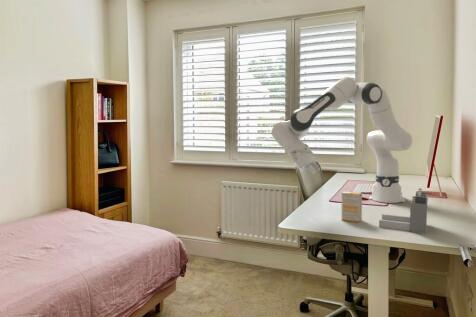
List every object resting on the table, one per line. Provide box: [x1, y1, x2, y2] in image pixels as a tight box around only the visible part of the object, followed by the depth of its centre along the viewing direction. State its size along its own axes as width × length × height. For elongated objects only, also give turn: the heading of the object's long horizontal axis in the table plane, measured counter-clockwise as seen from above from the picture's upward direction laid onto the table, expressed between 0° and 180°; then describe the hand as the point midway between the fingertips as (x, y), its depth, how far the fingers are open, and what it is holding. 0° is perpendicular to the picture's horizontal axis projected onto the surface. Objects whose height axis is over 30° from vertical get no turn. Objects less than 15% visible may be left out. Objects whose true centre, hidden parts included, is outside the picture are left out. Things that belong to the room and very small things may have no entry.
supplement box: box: [341, 190, 363, 223], centre depth 170 cm, size 8×5×13 cm, turn 59°
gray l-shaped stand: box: [378, 187, 429, 234], centre depth 160 cm, size 14×18×16 cm
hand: (316, 171), depth 176 cm, fingers open, 6 cm apart
